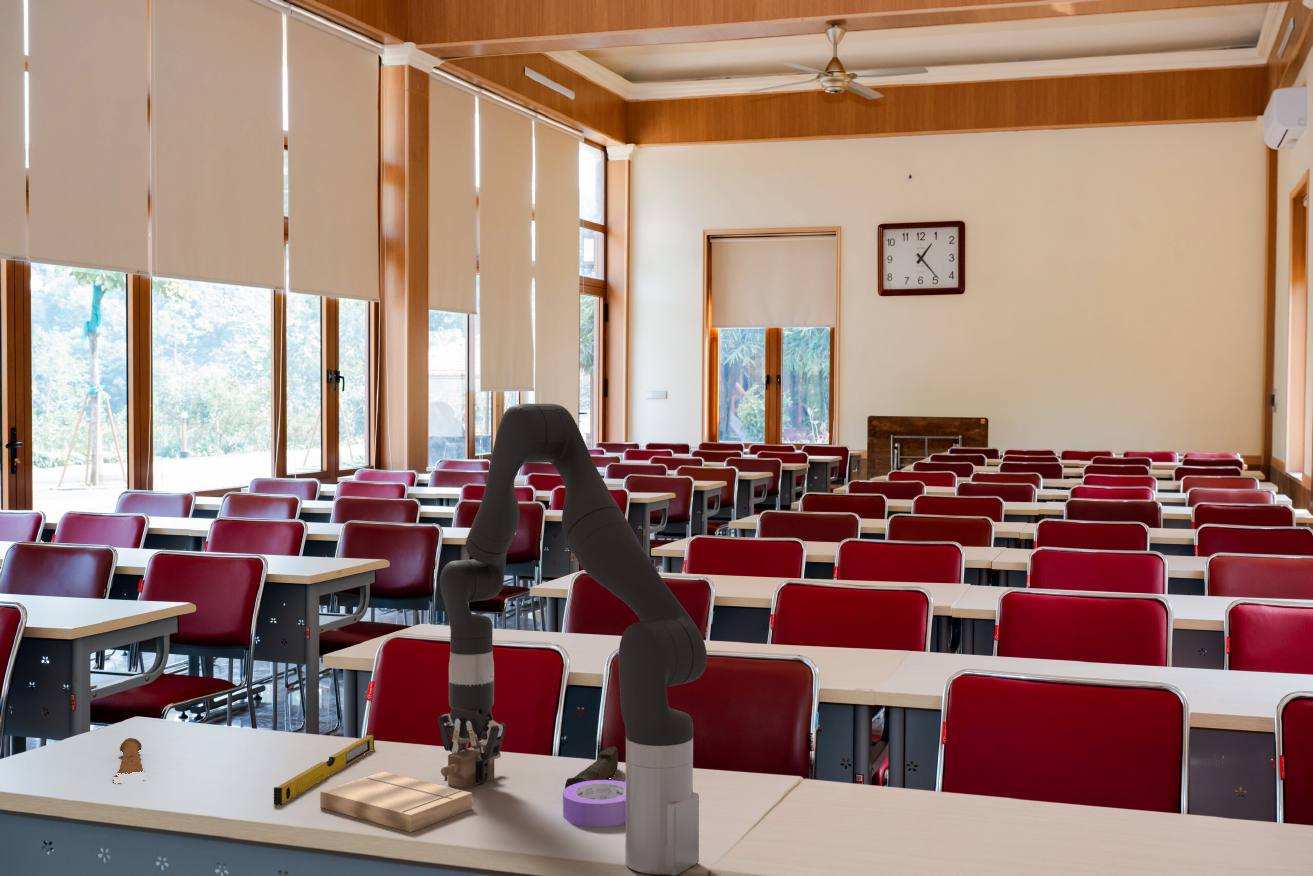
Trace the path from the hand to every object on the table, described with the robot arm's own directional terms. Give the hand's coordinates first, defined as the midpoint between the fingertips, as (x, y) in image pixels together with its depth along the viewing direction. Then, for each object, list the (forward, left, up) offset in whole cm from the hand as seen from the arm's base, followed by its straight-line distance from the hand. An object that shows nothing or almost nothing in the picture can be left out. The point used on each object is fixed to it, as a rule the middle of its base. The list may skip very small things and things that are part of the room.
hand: (471, 779), depth 198 cm
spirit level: (+23, +11, -1) cm, 26 cm away
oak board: (0, +17, 0) cm, 17 cm away
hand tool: (-18, -11, -1) cm, 21 cm away
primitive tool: (+54, +28, -1) cm, 61 cm away
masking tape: (-28, +1, -1) cm, 28 cm away
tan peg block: (0, 0, 0) cm, 0 cm away
